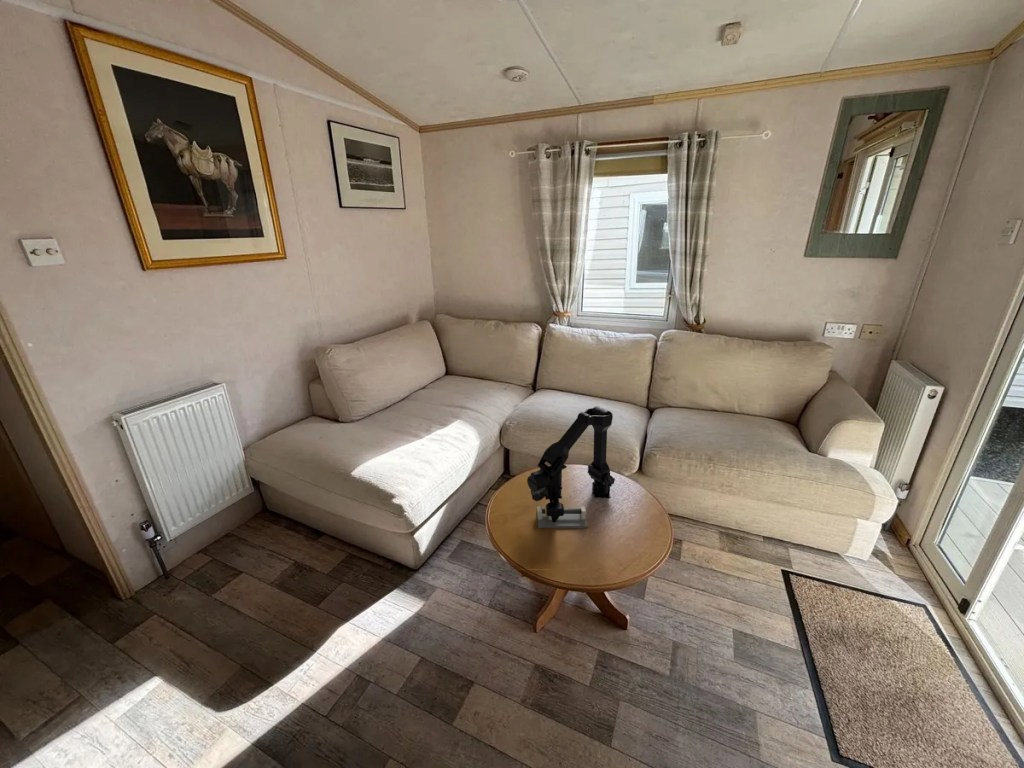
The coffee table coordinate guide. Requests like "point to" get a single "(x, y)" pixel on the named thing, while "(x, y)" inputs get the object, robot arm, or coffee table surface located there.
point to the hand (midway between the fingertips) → (553, 515)
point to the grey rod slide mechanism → (563, 518)
